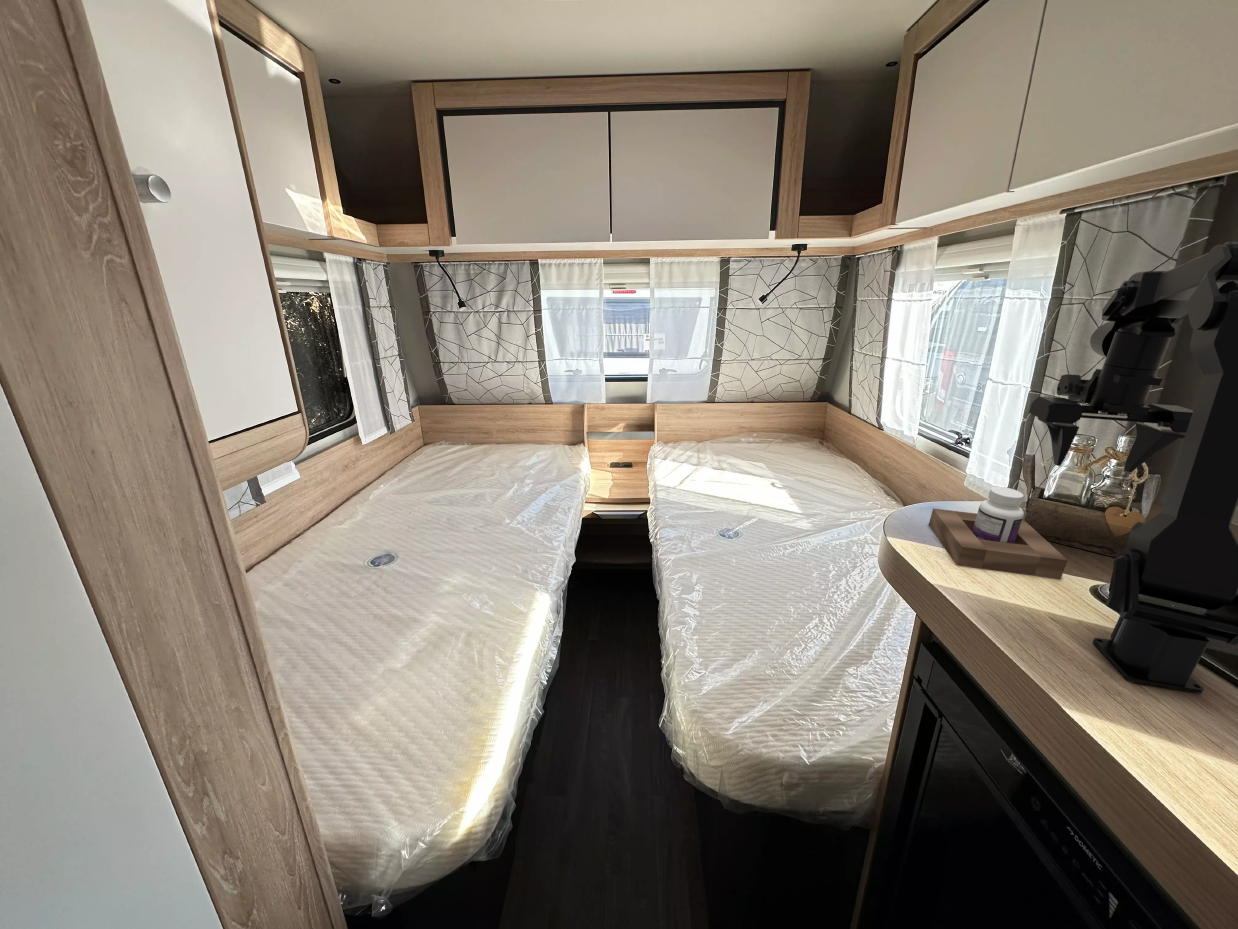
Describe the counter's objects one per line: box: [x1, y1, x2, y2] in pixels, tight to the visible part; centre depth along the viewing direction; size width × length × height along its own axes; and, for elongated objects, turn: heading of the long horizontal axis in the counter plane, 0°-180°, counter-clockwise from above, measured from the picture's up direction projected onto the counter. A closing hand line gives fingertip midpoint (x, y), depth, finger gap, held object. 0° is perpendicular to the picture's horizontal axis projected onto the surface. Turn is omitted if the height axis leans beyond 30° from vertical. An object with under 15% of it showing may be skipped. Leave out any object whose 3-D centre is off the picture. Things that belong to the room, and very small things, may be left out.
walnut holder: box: [928, 508, 1068, 580], centre depth 77 cm, size 13×13×3 cm
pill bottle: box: [972, 486, 1025, 544], centre depth 76 cm, size 5×5×10 cm
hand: (1091, 468), depth 78 cm, fingers open, 9 cm apart
